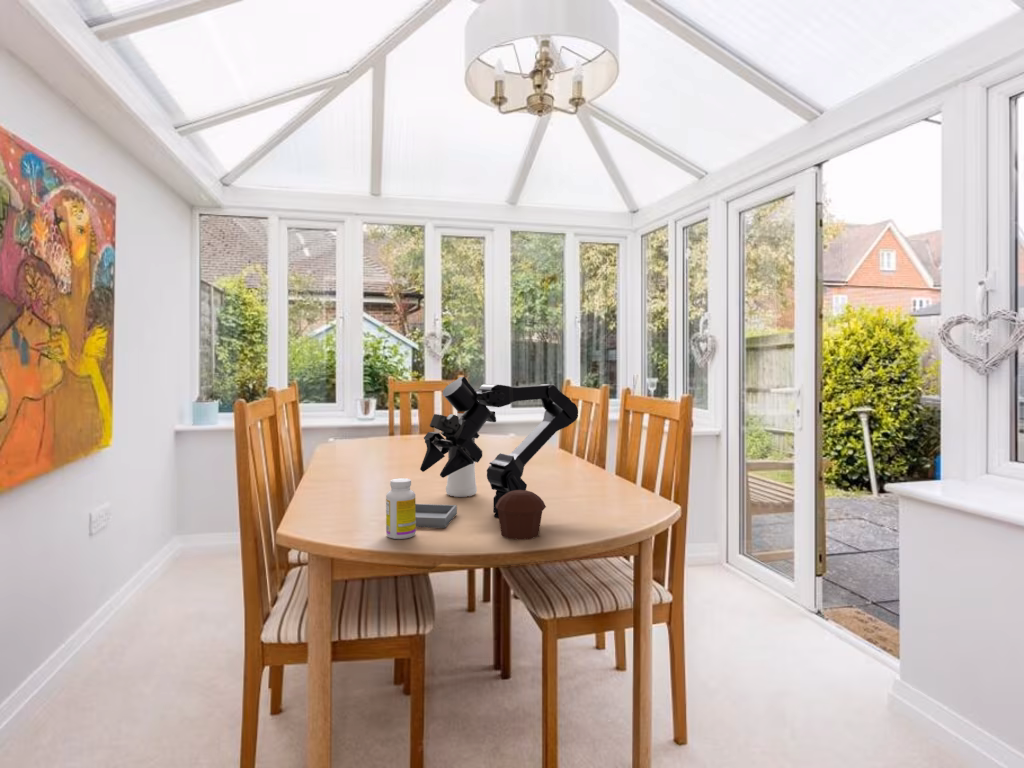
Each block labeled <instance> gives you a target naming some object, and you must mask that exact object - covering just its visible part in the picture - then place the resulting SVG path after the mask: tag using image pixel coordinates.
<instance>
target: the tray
mask: <svg viewBox="0 0 1024 768" xmlns="http://www.w3.org/2000/svg"><path fill="white" fill-rule="evenodd" d="M415 506H416V528H430V529H431V528H433V529H446V528H447V527H446V526H448V525H449V524H450V523H451V522H452V521H453V519H454V518H455V517H456V516H457V515H458V512H457V510H458V507H457V506H458V505H456V504H435V503H434V504H433V503H432V504H431V503H429V504H428V503H427V504H426V503H415ZM456 514H457V515H456ZM455 515H456V516H455ZM454 516H455V517H454ZM453 517H454V518H453ZM451 520H452V521H451ZM450 521H451V522H450ZM449 522H450V523H449Z"/></svg>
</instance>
